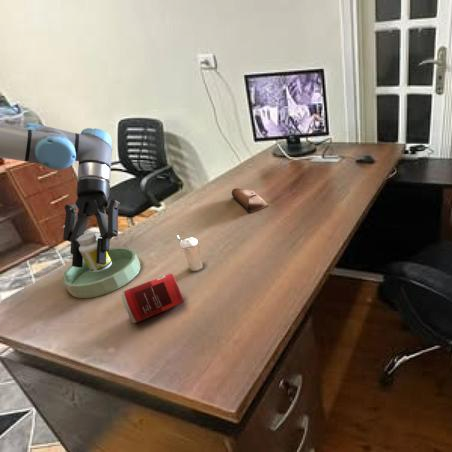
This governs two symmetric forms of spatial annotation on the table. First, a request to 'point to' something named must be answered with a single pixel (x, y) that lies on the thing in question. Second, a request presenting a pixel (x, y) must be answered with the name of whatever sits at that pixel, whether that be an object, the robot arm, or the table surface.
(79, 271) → the pan
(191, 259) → the milkshake
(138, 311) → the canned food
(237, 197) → the sunglasses case
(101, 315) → the table surface
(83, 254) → the supplement bottle
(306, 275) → the table surface
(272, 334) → the table surface
